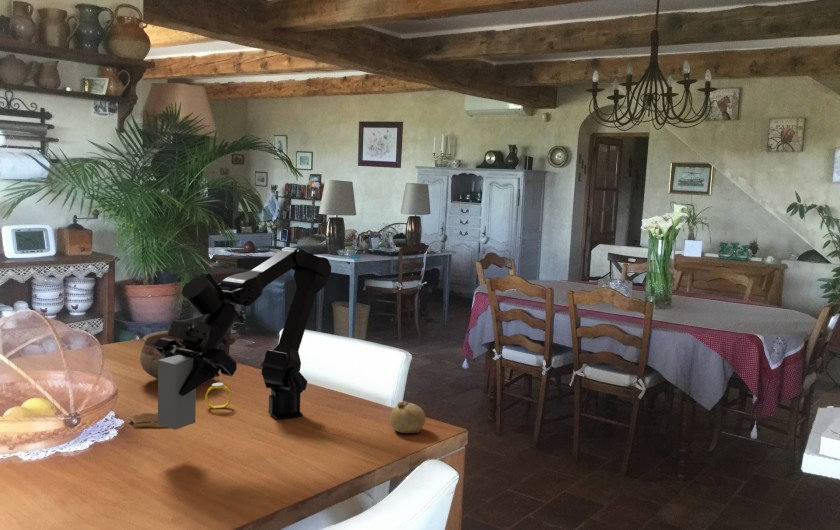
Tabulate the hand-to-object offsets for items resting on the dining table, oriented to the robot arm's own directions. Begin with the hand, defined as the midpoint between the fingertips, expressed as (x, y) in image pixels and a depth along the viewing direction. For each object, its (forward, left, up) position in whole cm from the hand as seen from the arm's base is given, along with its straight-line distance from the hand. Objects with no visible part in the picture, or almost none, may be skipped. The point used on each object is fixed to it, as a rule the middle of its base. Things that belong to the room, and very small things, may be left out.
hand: (171, 392), depth 138 cm
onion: (-50, +6, -14) cm, 52 cm away
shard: (-1, -23, -14) cm, 27 cm away
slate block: (-1, -1, -7) cm, 7 cm away
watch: (-16, -27, -14) cm, 34 cm away
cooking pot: (-12, -54, -14) cm, 57 cm away
